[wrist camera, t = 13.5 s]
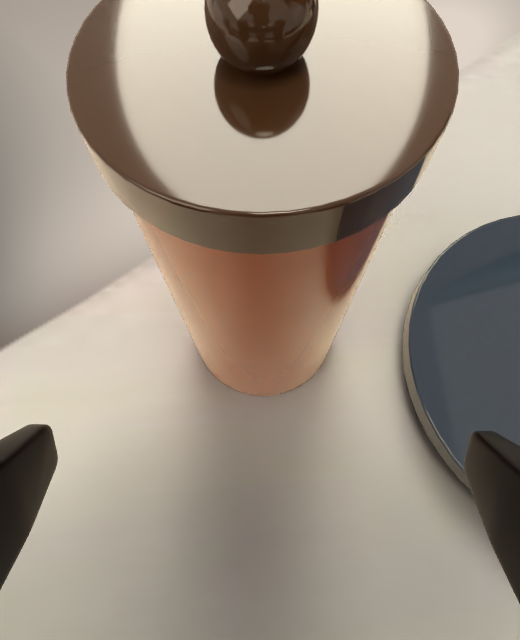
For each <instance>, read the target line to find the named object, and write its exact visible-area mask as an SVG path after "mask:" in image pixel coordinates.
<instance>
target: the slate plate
mask: <svg viewBox="0 0 520 640" xmlns="http://www.w3.org/2000/svg"><path fill="white" fill-rule="evenodd" d="M402 353H403V364H404V373H405V377H406V382H407V386H408V390H409V394H410V397H411V400H412V402H413V405H414V408H415V411H416V413H417V416H418V418H419V420H420V422H421V424H422V426H423V428H424V430H425V432H426V434H427V436H428V438H429V439H430V441H431V442H432V444H433V445H434V447H435V448H436V450H437V451H438V453H439V454H440V456H441V457H442V459H443V460H444V462H445V463H446V464H447V465H448V466H449V468H450V469H451V470H452V471H453V472H454V473H455V475H456V476H457V477H458V478H459V479H460V481H461V482H462V483H463V484H464V485H466V486H467V487H468V488H469V489H470V490H471V488H470V485H469V482H468V479H467V477H466V474H465V469H464V461H465V456H466V452H467V448H468V444H469V440H470V436H471V434H472V433H473V432H474V431H494V432H496V433H498V434H500V435H501V436H503V437H505V438H506V439H508V440H510V441H512V442H513V443H515V444H517V445H519V446H520V215H518V216H513V217H509V218H504V219H500V220H497V221H494V222H491V223H488V224H485V225H482V226H480V227H478V228H476V229H474V230H472V231H470V232H468V233H466V234H465V235H463V236H462V237H461V238H459V239H458V240H456V241H455V242H454V243H452V244H451V245H450V246H449V247H448V248H447V249H446V250H445V251H444V252H442V253H441V254H440V255H439V256H438V258H437V259H436V260H435V262H434V263H433V264H432V265H431V267H430V268H429V269H428V271H427V272H426V273H425V275H424V276H423V277H422V279H421V281H420V282H419V284H418V286H417V288H416V290H415V292H414V293H413V296H412V299H411V301H410V304H409V307H408V310H407V313H406V318H405V324H404V329H403V346H402ZM471 491H472V490H471Z"/></svg>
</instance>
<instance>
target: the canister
mask: <svg viewBox="0 0 520 640" xmlns="http://www.w3.org/2000/svg"><path fill="white" fill-rule="evenodd" d="M66 79H67V96H68V101H69V106H70V110H71V113H72V116H73V118H74V121H75V123H76V125H77V127H78V130H79V132H80V134H81V136H82V138H83V140H84V142H85V143H86V146H87V148H88V149H89V151H90V153H91V155H92V157H93V159H94V161H95V163H96V165H97V167H98V169H99V171H100V173H101V174H102V176H103V177H104V179H105V180H106V182H107V184H108V185H109V187H110V188H111V189H112V191H113V192H114V193H115V194H116V195H117V196H118V197H119V199H120V200H121V201H122V202H123V203H124V204H125V205H126V206H127V207H129V208H130V209H131V210H132V211H133V213H134V216H135V218H136V220H137V222H138V224H139V226H140V228H141V230H142V233H143V235H144V237H145V239H146V241H147V243H148V245H149V247H150V249H151V252H152V254H153V256H154V258H155V260H156V262H157V264H158V267H159V269H160V271H161V273H162V275H163V277H164V279H165V281H166V284H167V286H168V288H169V290H170V292H171V294H172V296H173V298H174V301H175V303H176V305H177V307H178V309H179V311H180V313H181V315H182V318H183V320H184V322H185V324H186V326H187V328H188V330H189V332H190V335H191V337H192V339H193V341H194V343H195V345H196V347H197V349H198V352H199V354H200V356H201V358H202V360H203V362H204V363H205V365H206V367H207V368H208V369H209V371H210V372H211V373H212V374H213V375H214V376H215V377H216V378H217V379H218V380H219V381H221V382H222V383H224V384H225V385H227V386H228V387H230V388H232V389H234V390H237V391H239V392H242V393H246V394H251V395H260V396H267V395H276V394H281V393H284V392H287V391H290V390H292V389H294V388H296V387H298V386H300V385H302V384H303V383H305V382H306V381H307V380H308V379H309V378H311V377H312V376H313V375H314V374H315V372H316V371H317V370H318V369H319V368H320V366H321V364H322V363H323V361H324V359H325V357H326V355H327V353H328V351H329V348H330V346H331V344H332V342H333V340H334V337H335V335H336V333H337V331H338V329H339V327H340V324H341V322H342V320H343V318H344V316H345V313H346V311H347V309H348V307H349V305H350V303H351V300H352V298H353V296H354V294H355V292H356V289H357V287H358V285H359V283H360V281H361V279H362V276H363V274H364V272H365V270H366V268H367V265H368V263H369V261H370V259H371V257H372V255H373V252H374V250H375V248H376V246H377V244H378V241H379V239H380V237H381V235H382V233H383V231H384V228H385V226H386V224H387V222H388V220H389V217H390V215H391V213H392V211H393V209H394V208H395V207H396V206H398V205H399V204H400V203H401V201H402V200H403V199H404V198H405V197H406V196H407V195H408V194H409V193H410V192H411V191H412V190H413V188H414V187H415V185H416V184H417V182H418V181H419V179H420V178H421V176H422V175H423V173H424V171H425V169H426V167H427V165H428V163H429V161H430V159H431V157H432V155H433V153H434V151H435V149H436V147H437V145H438V143H439V141H440V139H441V137H442V135H443V133H444V131H445V129H446V127H447V125H448V123H449V120H450V118H451V116H452V114H453V111H454V107H455V103H456V99H457V95H458V82H459V69H458V62H457V55H456V51H455V48H454V45H453V42H452V39H451V36H450V34H449V32H448V30H447V29H446V27H445V25H444V23H443V21H442V19H441V18H440V17H439V15H438V14H437V13H436V11H435V10H434V8H433V7H432V6H431V5H430V4H429V3H428V2H427V1H426V0H101V1H100V2H99V3H98V4H97V5H96V6H95V7H94V8H93V10H92V11H91V13H90V14H89V15H88V16H87V18H86V19H85V20H84V22H83V24H82V26H81V28H80V30H79V31H78V33H77V35H76V37H75V39H74V42H73V45H72V48H71V51H70V54H69V59H68V65H67V71H66Z"/></svg>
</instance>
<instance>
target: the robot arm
mask: <svg viewBox="0 0 520 640" xmlns="http://www.w3.org/2000/svg"><path fill="white" fill-rule="evenodd" d="M57 460H58V455H57V450H56V446H55V441H54V437H53V432H52V429H51V427H50V426H48V425H42V424H31V425H27V426H25V427H23V428H21V429H20V430H18V431H16V432H14V433H12V434H10V435H8V436H6V437H5V438H3V439H1V440H0V589H1V588H2V586H3V584H4V582H5V580H6V578H7V576H8V574H9V572H10V570H11V568H12V566H13V565H14V563H15V561H16V559H17V557H18V555H19V553H20V551H21V549H22V547H23V545H24V543H25V541H26V539H27V537H28V535H29V533H30V531H31V528H32V526H33V524H34V521H35V519H36V516H37V514H38V511H39V509H40V506H41V504H42V501H43V499H44V496H45V494H46V491H47V489H48V486H49V484H50V481H51V479H52V476H53V474H54V471H55V469H56V466H57ZM464 469H465V474H466V477H467V479H468V482H469V485H470V488H471V490H472V493H473V496H474V499H475V502H476V504H477V507H478V510H479V513H480V516H481V518H482V521H483V524H484V527H485V529H486V532H487V535H488V537H489V540H490V542H491V544H492V547H493V549H494V551H495V553H496V555H497V558H498V560H499V562H500V564H501V566H502V568H503V570H504V572H505V574H506V576H507V578H508V580H509V583H510V585H511V587H512V589H513V591H514V593H515V595H516V597H517V599H518V601H519V603H520V446H519V445H517V444H515V443H513V442H512V441H510V440H508V439H506V438H505V437H503V436H501V435H500V434H498V433H496V432H494V431H474V432H473V433H472V434H471V436H470V440H469V444H468V448H467V452H466V456H465V461H464Z"/></svg>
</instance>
